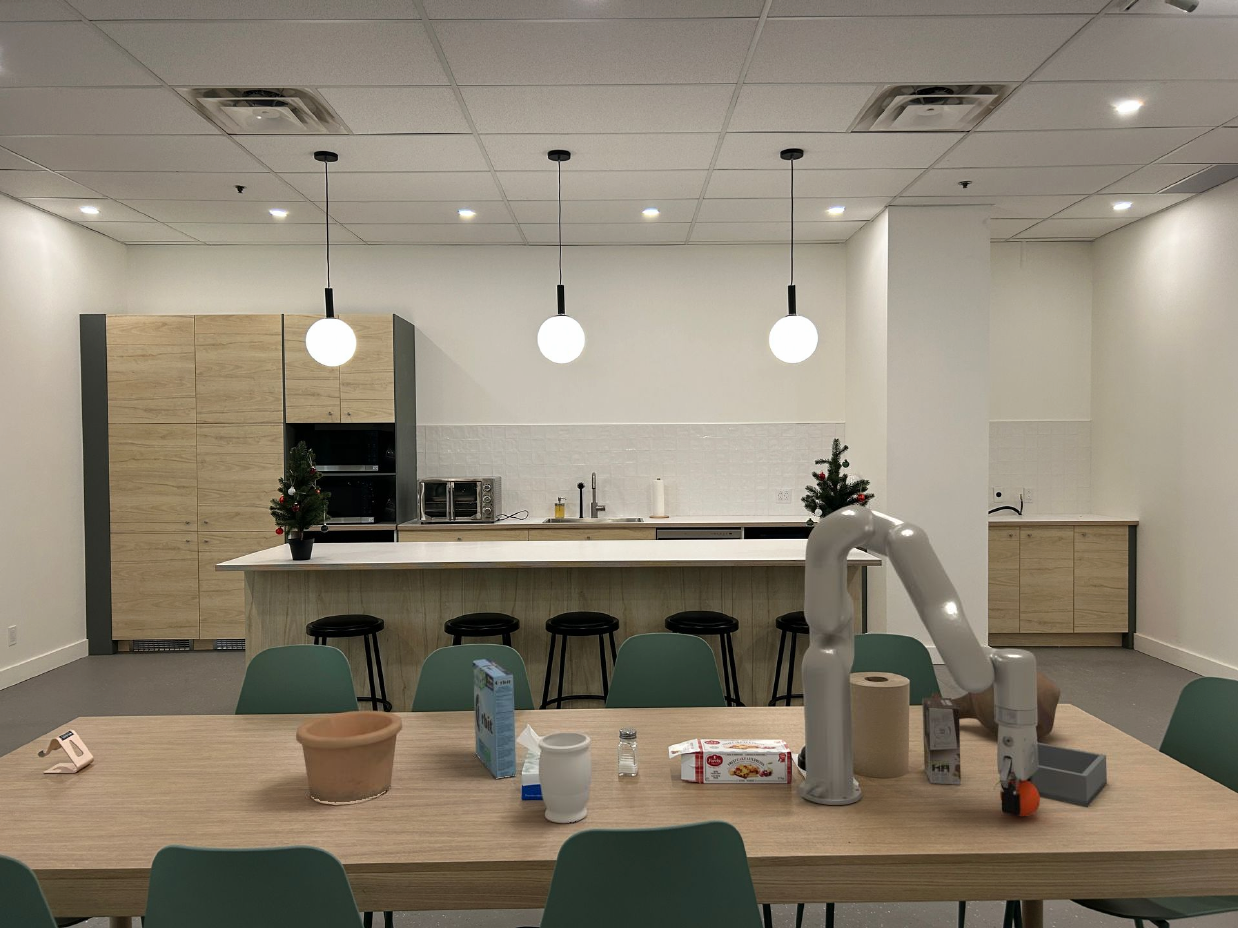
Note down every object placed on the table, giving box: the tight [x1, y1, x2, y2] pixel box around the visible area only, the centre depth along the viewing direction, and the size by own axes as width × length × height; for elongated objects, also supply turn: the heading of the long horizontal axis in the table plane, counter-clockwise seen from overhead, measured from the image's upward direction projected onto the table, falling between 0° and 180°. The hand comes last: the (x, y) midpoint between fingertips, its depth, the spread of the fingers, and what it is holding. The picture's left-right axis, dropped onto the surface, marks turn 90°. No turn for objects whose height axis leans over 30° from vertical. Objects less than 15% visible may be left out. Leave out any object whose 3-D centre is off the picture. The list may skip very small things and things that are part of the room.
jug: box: [931, 668, 1062, 739], centre depth 212 cm, size 20×20×30 cm
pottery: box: [295, 710, 403, 803], centre depth 184 cm, size 22×22×14 cm
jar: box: [537, 731, 593, 824], centre depth 168 cm, size 11×10×15 cm
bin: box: [1010, 742, 1108, 808], centre depth 177 cm, size 16×16×6 cm
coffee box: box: [922, 697, 962, 786], centre depth 184 cm, size 9×6×16 cm
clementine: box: [993, 779, 1041, 817], centre depth 163 cm, size 8×7×7 cm
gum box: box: [472, 658, 517, 779], centre depth 198 cm, size 20×5×23 cm, turn 23°
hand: (1017, 806), depth 163 cm, fingers closed on clementine, 6 cm apart
